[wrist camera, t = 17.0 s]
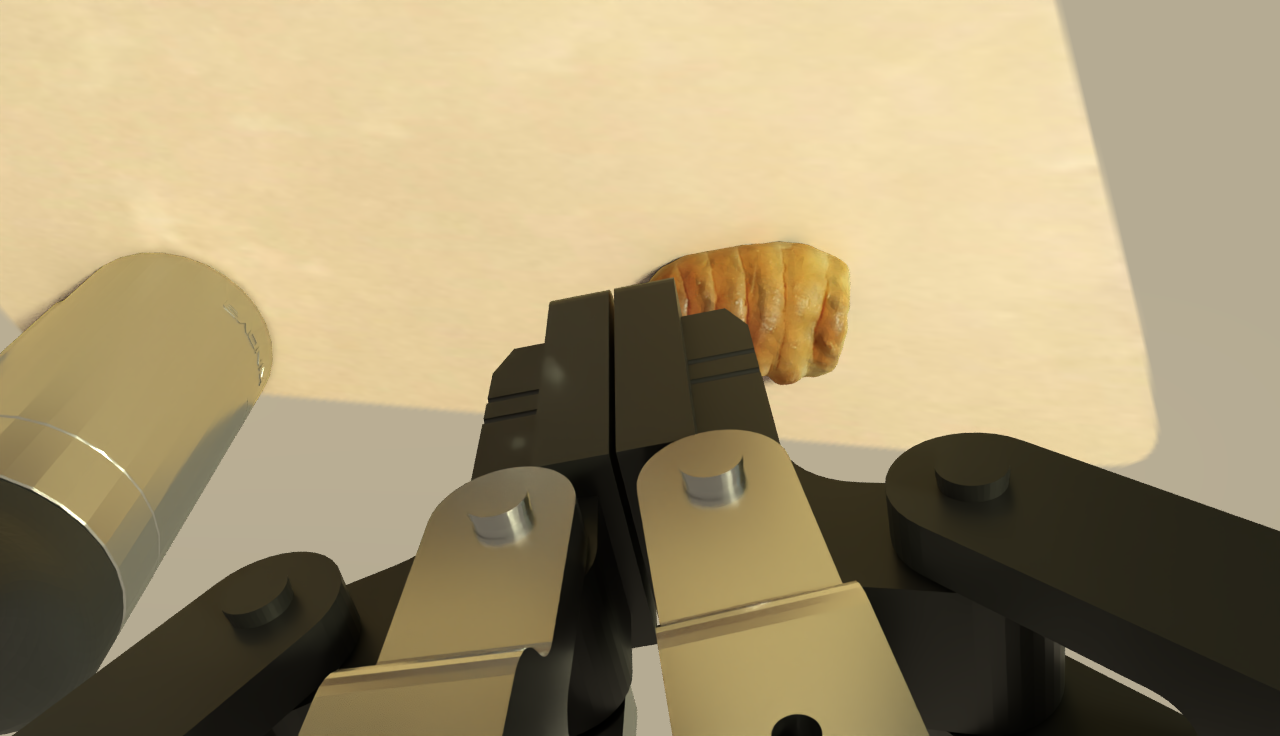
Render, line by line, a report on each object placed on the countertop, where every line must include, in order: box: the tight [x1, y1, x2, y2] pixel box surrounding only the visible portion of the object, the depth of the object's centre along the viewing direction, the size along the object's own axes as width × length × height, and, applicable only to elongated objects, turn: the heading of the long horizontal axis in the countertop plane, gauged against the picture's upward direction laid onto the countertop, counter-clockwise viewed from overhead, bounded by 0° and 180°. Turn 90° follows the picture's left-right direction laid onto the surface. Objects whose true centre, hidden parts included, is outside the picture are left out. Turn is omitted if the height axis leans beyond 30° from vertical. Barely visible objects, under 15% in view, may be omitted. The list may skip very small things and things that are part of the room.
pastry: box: [649, 241, 850, 385], centre depth 47 cm, size 9×7×4 cm
